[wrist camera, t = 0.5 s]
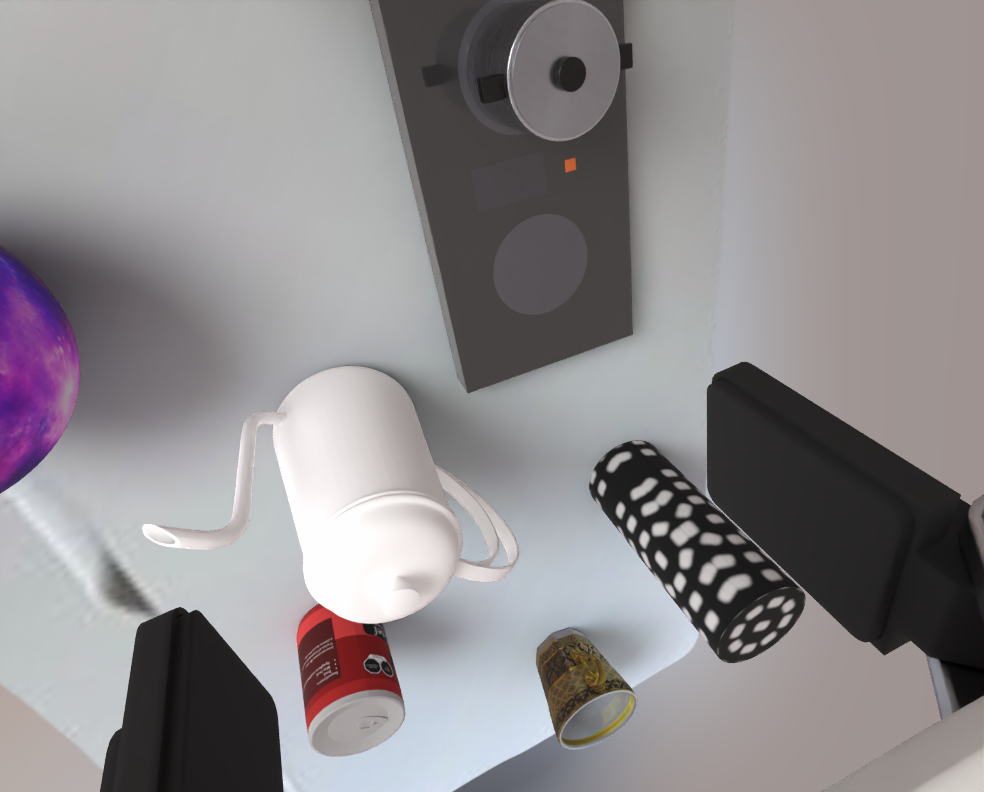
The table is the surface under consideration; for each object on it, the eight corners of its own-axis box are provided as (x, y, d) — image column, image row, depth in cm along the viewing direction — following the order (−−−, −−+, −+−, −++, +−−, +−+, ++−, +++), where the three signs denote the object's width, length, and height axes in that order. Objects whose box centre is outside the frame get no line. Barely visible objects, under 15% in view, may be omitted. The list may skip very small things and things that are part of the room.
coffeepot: (201, 295, 38) (187, 464, 23) (497, 414, 52) (607, 568, 37) (139, 428, 41) (90, 655, 26) (435, 508, 55) (514, 686, 40)
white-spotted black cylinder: (669, 439, 62) (822, 580, 46) (643, 502, 66) (777, 653, 50) (603, 441, 59) (744, 594, 43) (579, 507, 62) (701, 671, 46)
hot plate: (349, -84, 32) (357, -92, 30) (597, -125, 35) (620, -135, 33) (457, 378, 49) (467, 394, 47) (617, 323, 52) (633, 334, 50)
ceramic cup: (590, 659, 78) (631, 730, 70) (520, 684, 75) (555, 761, 67) (600, 591, 71) (647, 662, 63) (524, 616, 68) (564, 693, 60)
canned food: (380, 636, 61) (406, 738, 52) (299, 658, 58) (313, 769, 50) (378, 584, 57) (406, 685, 48) (291, 605, 54) (304, 715, 46)
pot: (437, 18, 33) (481, 16, 28) (578, -12, 35) (647, -20, 29) (459, 142, 37) (502, 162, 31) (586, 109, 39) (648, 123, 33)
